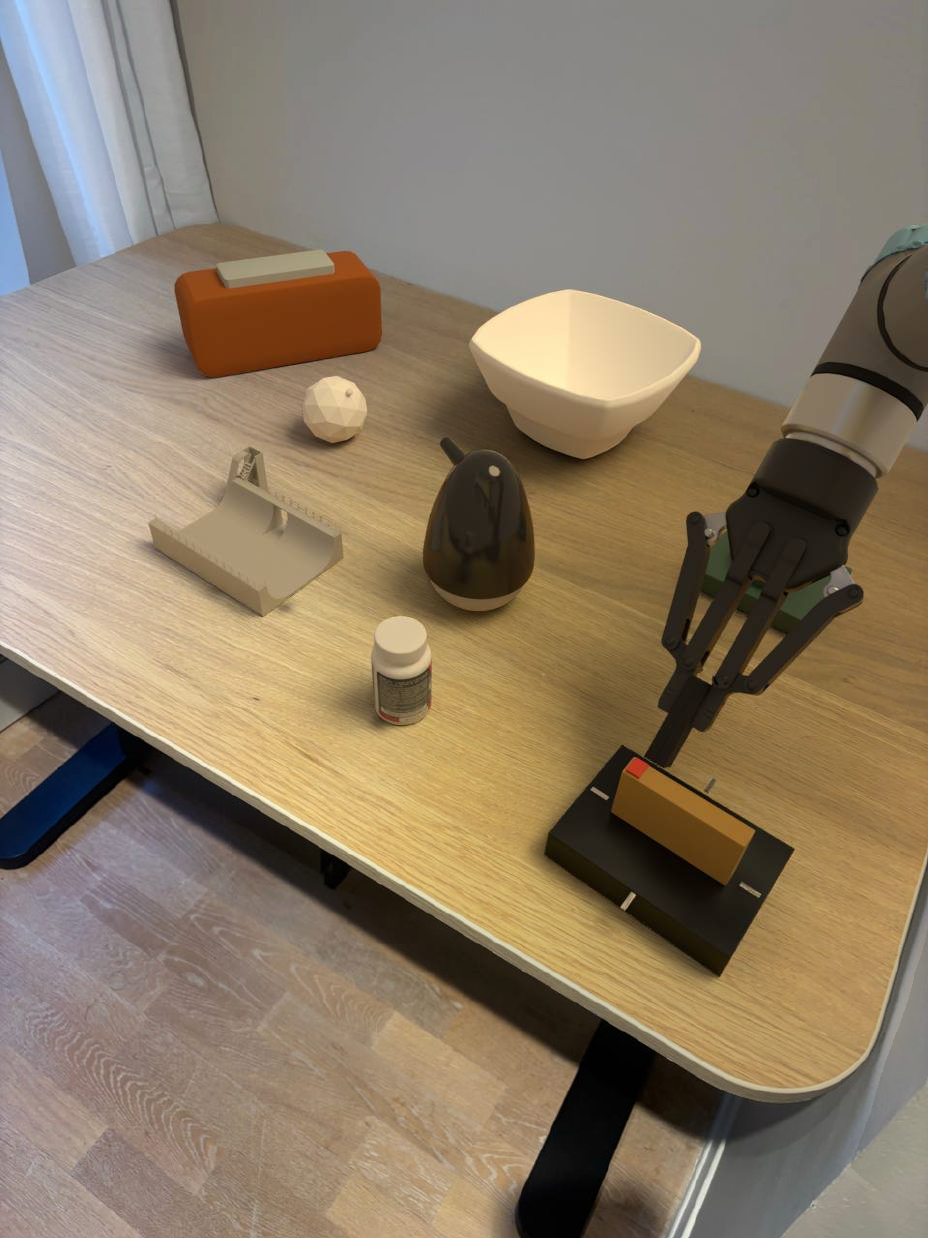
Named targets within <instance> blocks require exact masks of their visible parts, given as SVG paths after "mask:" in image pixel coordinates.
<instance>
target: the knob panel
mask: <svg viewBox="0 0 928 1238" xmlns="http://www.w3.org/2000/svg"><path fill="white" fill-rule="evenodd" d="M634 757H635V758H636V757H637V758H638V759H640V760H642V761H643V762H645V763H647V764H648V765H649V766H650V767H652V768H653V769H655V770H657V771H658V772H660V773H662V774H663V775H665V776H667V777H668V778H670V779H672V780H673V781H675V782H677V783H678V784H680V785H681V786H683V787H685V788H686V789H688V790H690V791H691V792H693V793H695V794H696V795H698V796H700V797H701V798H703V799H705V800H706V801H708V802H709V803H711V804H713V805H714V806H716V807H718V808H719V809H721V810H723V811H724V812H726V813H728V814H729V815H731V816H732V817H734V818H736V819H737V820H739V821H741V822H742V823H744V824H746V825H747V826H749V827H751V828H752V829H754V830H755V833H754V835H753V837H752V839H751V841H750V843H749V845H748V847H747V849H746V851H745V853H744V855H743V857H742V859H741V861H740V862H739V864H738V866H737V868H736V870H735V872H734V873H733V875H732V877H731V878H730V880H729V881H728V883H727V885H723V884H721V883H720V882H718V881H717V880H715V879H714V878H712V877H711V876H709V875H707V874H706V873H704V872H703V871H701V870H700V869H698V868H697V867H695V866H694V865H692V864H690V863H689V862H687V861H686V860H684V859H683V858H681V857H680V856H678V855H677V854H675V853H673V852H672V851H670V850H669V849H667V848H666V847H664V846H663V845H661V844H660V843H658V842H656V841H655V840H653V839H652V838H650V837H649V836H647V835H646V834H644V833H643V832H641V831H639V830H638V829H636V828H635V827H633V826H632V825H630V824H629V823H627V822H626V821H624V820H622V819H621V818H619V817H618V816H616V815H615V814H613V813H612V812H611V810H612V806H613V803H614V799H615V796H616V792H617V789H618V785H619V781H620V778H621V774H622V771H623V770H624V769H625V767H626V766H627V765H628V764H629V762H630V761H631V760H632V759H633V758H634ZM717 782H718V779H717V778H715V777H712V778H711V779H710V781H709V782H708V784H707V785H706V787H705V788H704V789H703V791H704V792H705V793H707V794H709V793H710V792H711V791H712V789H713V788H714V786H715V784H716V783H717ZM705 793H703V792H701V791H700V790H698V789H697V788H695V787H693V786H692V785H690V784H688V783H687V782H685V781H684V780H682V779H680V778H678V777H677V776H676V775H674V774H672V773H670V772H669V771H667V770H665V768H662V767H660V766H659V765H657V764H655V763H654V762H652V761H650V760H649V759H647V758H645V757H644V756H642V755H641V754H639V753H638V752H635V751H634V750H633V749H630V748H629V747H628V746H625V745H624V744H621V745H620V746H619V747H618V748H617V749H616V751H615V752H614V753H613V754H612V756H611V757H610V758H609V760H608V761H607V762H606V763H605V764H604V766H603V767H602V768H601V769H600V770H599V771H598V772H597V774H596V775H595V776H594V777H593V779H592V780H591V781H590V782H589V783H588V784H587V786H586V787H585V788H584V789H583V790H582V792H581V793H580V794H579V795H578V796H577V798H576V799H575V800H574V801H573V803H571V805H570V806H569V807H568V809H567V810H566V811H565V812H564V813H563V814H562V816H561V817H560V818H559V819H558V820H557V822H556V823H555V824H554V825H553V827H551V829H550V830H549V831H548V833H547V837H546V842H545V847H544V852H543V855H544V856H545V857H546V858H547V859H549V860H550V861H552V862H553V863H555V864H557V865H558V866H559V867H560V868H562V869H563V870H565V871H566V872H567V873H569V874H571V875H572V876H573V877H575V878H576V879H577V880H579V881H580V882H582V883H583V884H585V885H586V886H588V887H589V888H591V889H592V890H593V891H595V892H596V893H598V894H599V895H600V896H602V897H604V898H605V899H606V900H608V901H609V902H611V903H612V904H614V905H615V906H616V907H618V908H619V909H621V910H622V911H623V912H625V913H626V914H628V915H629V916H631V917H632V918H633V919H635V920H637V921H638V922H639V923H641V924H642V925H643V926H645V927H647V928H648V929H649V930H651V931H652V932H654V933H655V934H656V935H658V936H659V937H661V938H662V939H664V940H665V941H667V943H670V944H671V945H672V946H674V947H675V948H676V949H678V950H679V951H681V952H682V953H684V954H685V955H686V956H688V957H689V958H691V959H692V960H694V961H695V962H696V963H698V964H699V965H701V966H702V967H704V968H705V969H707V970H708V971H710V972H711V973H712V974H714V975H715V976H717V977H718V978H720V977H721V976H722V975H723V973H724V971H725V969H726V968H727V966H728V964H729V962H730V961H731V959H732V957H733V955H734V954H735V953H736V951H737V949H738V948H739V946H740V944H741V942H742V940H743V939H744V937H745V936H746V933H747V932H748V930H749V929H750V927H751V925H752V923H753V922H754V920H755V918H756V917H757V915H758V913H759V911H760V910H761V908H762V906H763V904H764V903H765V901H766V900H767V898H768V896H769V895H770V893H771V891H772V890H773V888H774V886H775V885H776V882H777V881H778V880H779V878H780V876H781V875H782V872H783V871H784V869H785V867H786V865H787V864H788V862H789V860H790V859H791V857H792V855H793V853H794V852H795V850H796V849H795V847H793V846H791V845H790V844H788V843H786V842H784V841H783V840H781V839H780V838H778V837H776V836H775V835H774V834H771V833H769V832H768V831H766V830H765V829H763V828H761V827H759V826H758V825H757V824H755V823H753V822H751V821H750V820H748V819H746V818H745V817H743V816H741V815H740V814H738V813H737V812H735V811H733V810H731V809H730V808H728V807H726V806H725V805H724V804H721V803H720V802H718V801H717V800H715V799H713V798H711V797H710V796H709V795H706V794H705Z"/></svg>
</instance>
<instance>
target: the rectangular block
mask: <svg viewBox="0 0 928 1238" xmlns="http://www.w3.org/2000/svg"><path fill="white" fill-rule="evenodd" d="M611 812H612V813H613V814H615V815H616V816H618V817H619V818H621V819H622V820H624V821H626V822H627V823H629V824H630V825H632V826H633V827H635V828H636V829H638V830H639V831H641V832H643V833H644V834H646V835H647V836H649V837H650V838H652V839H653V840H655V841H656V842H658V843H660V844H661V845H663V846H664V847H666V848H667V849H669V850H670V851H672V852H673V853H675V854H677V855H678V856H680V857H681V858H683V859H684V860H686V861H687V862H689V863H690V864H692V865H694V866H695V867H697V868H698V869H700V870H701V871H703V872H704V873H706V874H707V875H709V876H711V877H712V878H714V879H715V880H717V881H718V882H720V883H721V884H723V885H727V883H728V881H729V880H730V878H731V877H732V875H733V873H734V872H735V870H736V868H737V866H738V864H739V862H740V861H741V859H742V857H743V855H744V853H745V851H746V849H747V847H748V845H749V843H750V841H751V839H752V837H753V835H754V833H755V830H754V829H752V828H751V827H749V826H747V825H746V824H744V823H742V822H741V821H739V820H737V819H736V818H734V817H732V816H731V815H729V814H728V813H726V812H724V811H723V810H721V809H719V808H718V807H716V806H714V805H713V804H711V803H709V802H708V801H706V800H705V799H703V798H701V797H700V796H698V795H696V794H695V793H693V792H691V791H690V790H688V789H686V788H685V787H683V786H681V785H680V784H678V783H677V782H675V781H673V780H672V779H670V778H668V777H667V776H665V775H663V774H662V773H660V772H658V771H657V770H655V769H653V768H652V767H650V766H649V765H648V764H647V763H645V762H643V761H642V760H640V759H638V758H637V757H636V758H635V757H634V758H633V759H632V760H631V761H630V762H629V764H628V765H627V766H626V767H625V769H624V770H623V771H622V774H621V778H620V781H619V785H618V789H617V792H616V796H615V799H614V803H613V806H612V810H611Z"/></svg>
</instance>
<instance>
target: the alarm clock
mask: <svg viewBox="0 0 928 1238" xmlns="http://www.w3.org/2000/svg"><path fill="white" fill-rule="evenodd" d="M173 289H174V290H173V291H174V296H175V301H176V306H177V310H178V316H179V320H180V325H181V330H182V331H181V332H182V336H183V339H184V341H185V343H186V345H187V348H188V350H189V352H190V354H191V356H192V360H193V361H194V364H195V366H196V368H197V370H198V371H199V372H200V373H201V374H202V375H203V376H206V377H208V378H220V377H221V378H222V377H226V376H233V375H239V374H244V373H249V372H255V371H262V370H267V369H272V368H279V367H284V366H285V367H286V366H291V365H297V364H302V363H308V362H313V361H318V360H319V361H320V360H324V359H330V358H336V357H343V356H348V355H353V354H360V353H365V352H369V351H372V350H374V349H375V348H376V347H378V345H380V343H381V340H382V334H383V332H382V331H383V327H382V323H383V322H382V299H381V298H382V294H381V293H382V291H381V285H380V282H379V280H378V279H377V278H376V276H375V275H374V274H373V273H372V272H371V271H370V269H369V268H368V267H367V266H366V264H364V262H363V261H362V260H361V259H360V257H359V256H358V255H357V254H356V253H354V252H353V251H351V250H340V251H339V250H338V251H332V252H326V251H325V250H324V249H314V250H306V251H298V252H292V253H291V252H290V253H282V254H276V255H268V256H261V257H253V258H246V259H239V260H231V261H222V262H218V263H216V267H214V268H205V269H198V270H190V271H187V272H184V273H182V274H180V275H179V276H178V277H177V278H176V279H175V282H174V288H173Z"/></svg>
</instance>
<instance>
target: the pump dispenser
mask: <svg viewBox="0 0 928 1238" xmlns="http://www.w3.org/2000/svg"><path fill="white" fill-rule="evenodd" d="M439 447H440V448H441V449H442V451H443V452H444V454H445V455H446V457H447V458H448V460H449V461H450V463H451V464H452V465H453V466H452V467H451V469H450V470H449V471H448V473H447V475H446V476H445V478H444V481H443V482H442V484H441V486H440V488H439V490H438V493H437V495H436V497H435V499H434V502H433V505H432V508H431V511H430V514H429V517H428V521H427V525H426V529H425V534H424V540H423V547H422V566H423V569H424V572H425V573H426V575H427V577H428V578H429V580H430V583H431V585H432V586H433V588H434V589H435V591H436V592H437V594H438V595H439V596H440V597H441V598H442V599H443V600H445V601H446V602H447V603H449V604H450V605H452V606H454V607H457V608H459V609H462V610H466V611H471V612H487V611H492V610H496V609H498V608H501V607H503V606H505V605H506V604H508V603H509V602H511V601H512V600H514V599H515V598H516V597H517V595H519V594H520V592H521V591H522V589H523V588H524V586H525V585H526V584H527V582H528V581H529V580H530V579H531V576H532V575H533V573H534V568H535V558H536V547H535V531H534V523H533V517H532V512H531V508H530V504H529V500H528V496H527V493H526V490H525V487H524V484H523V482H522V479H521V477H520V475H519V473H518V471H517V470H516V468H515V466H514V464H513V463H512V462H511V461H510V460H509V459H508V458H507V457H506V456H505V455H504V454H502V453H501V452H498V451H496V450H493V449H487V448H481V449H480V448H479V449H475V450H472V451H470V452H467V453H466V452H465V451H464V450H462V448H460V447H459V446H458V444H456V442H455V441H454V440H453V439H451V437H449V436H444V437H442V438H441V440H440V441H439Z"/></svg>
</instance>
